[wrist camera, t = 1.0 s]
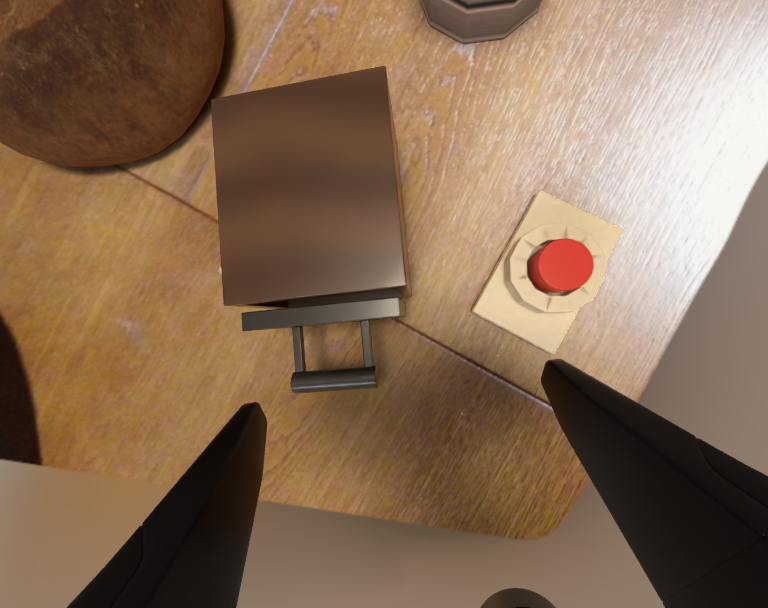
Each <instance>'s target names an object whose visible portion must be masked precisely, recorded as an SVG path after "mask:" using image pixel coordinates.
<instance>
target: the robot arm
mask: <svg viewBox="0 0 768 608" xmlns="http://www.w3.org/2000/svg"><path fill="white" fill-rule="evenodd" d="M541 383H542V386H543V388H544V391H545V393H546V395H547V397H548V400H549V402H550V404H551V406H552V408H553V411H554V413H555V415H556V417H557V419H558V422H559V424H560V426H561V428H562V430H563V432H564V434H565V435H566V437H567V439H568V441H569V443H570V444H571V446H572V448H573V449H574V451H575V453H576V455H577V456H578V458H579V460H580V461H581V463H582V465H583V467H584V468H585V470H586V472H587V473H588V475H589V477H590V479H591V480H592V482H593V484H594V486H595V487H596V489H597V491H598V492H599V494H600V496H601V498H602V499H603V501H604V503H605V504H606V506H607V508H608V510H609V511H610V513H611V515H612V517H613V518H614V520H615V522H616V523H617V525H618V527H619V529H620V530H621V532H622V533H623V535H624V537H625V539H626V541H627V542H628V544H629V546H630V547H631V549H632V551H633V552H634V554H635V556H636V558H637V559H638V561H639V563H640V565H641V566H642V568H643V570H644V572H645V573H646V575H647V577H648V578H649V580H650V582H651V583H652V585H653V587H654V589H655V591H656V592H657V594H658V596H659V597H660V599H661V600H662V601H663V605H664V606H665V608H768V476H766V475H764V474H762V473H761V472H759V471H757V470H755V469H753V468H751V467H749V466H747V465H745V464H743V463H742V462H740V461H738V460H736V459H734V458H733V457H731V456H729V455H727V454H726V453H723V452H722V451H720V450H718V449H717V448H715V447H713V446H711V445H709V444H708V443H706V442H704V441H703V440H701V439H699V438H696V437H695V436H694V435H692V434H690V433H689V432H687V431H685V430H683V429H681V428H680V427H678V426H676V425H675V424H673V423H671V422H670V421H668V420H666V419H664V418H663V417H661V416H659V415H657V414H656V413H654V412H652V411H651V410H649V409H647V408H645V407H644V406H642V405H640V404H638V403H637V402H635V401H633V400H631V399H630V398H628V397H626V396H625V395H623V394H621V393H619V392H618V391H616V390H614V389H612V388H611V387H609V386H607V385H605V384H604V383H602V382H600V381H598V380H597V379H595V378H593V377H592V376H590V375H588V374H586V373H585V372H583V371H581V370H579V369H578V368H576V367H574V366H572V365H571V364H569V363H567V362H566V361H564V360H562V359H554V360H548V361H547V362H546V363H545V366H544V370H543V373H542V377H541ZM266 432H267V420H266V417H265V415H264V413H263V411H262V409H261V407H260V405H259V403H257V402H253V403H247V404H244V405H242V406H241V407H240V408H239V410H238V411H237V412H236V413H235V414H234V416H233V417H232V418H231V419H230V420H229V421H228V423H227V424H226V425H225V426H224V427H223V429H222V430H221V431H220V432H219V433H218V434H217V436H216V437H215V438H214V439H213V440H212V442H211V443H210V444H209V445H208V446H207V447H206V449H205V450H204V451H203V452H202V453H201V455H200V456H199V457H198V458H197V459H196V460H195V462H194V463H193V464H192V465H191V466H190V468H189V469H188V470H187V471H186V472H185V473H184V475H183V476H182V477H181V478H180V479H179V480H178V482H177V483H176V484H175V485H174V486H173V488H172V489H171V490H170V491H169V492H168V493H167V495H166V496H165V497H164V498H163V499H162V501H161V502H160V503H159V504H158V506H156V508H155V509H154V510H153V511H152V513H151V514H150V515H149V516H148V517H147V518H146V520H145V521H144V522H143V524H142V526H140V527H139V528H138V529H137V530H136V531H135V532H134V534H133V535H132V536H131V537H130V538H129V539H128V541H127V542H126V543H125V544H124V545H123V546H122V548H121V549H120V550H119V551H118V552H117V553H116V554H115V555H114V557H113V558H112V559H111V560H110V561H109V562H108V564H107V565H106V566H105V567H104V568H103V569H102V570H101V571H100V572H99V574H97V576H96V577H95V578H94V579H93V580H92V581H91V582H90V583H89V584H88V585H87V586H86V588H85V589H84V590H83V591H82V592H81V593H80V594H79V595H78V596H77V597H76V598H75V599H74V600H73V601H72V602H71V603H70V604H69V606H68V607H67V608H236V606H237V601H238V596H239V591H240V586H241V581H242V576H243V571H244V566H245V561H246V556H247V551H248V546H249V541H250V536H251V531H252V526H253V521H254V516H255V512H256V507H257V502H258V497H259V492H260V487H261V481H262V475H263V466H264V455H265V443H266Z"/></svg>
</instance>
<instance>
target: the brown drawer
mask: <svg viewBox="0 0 768 608" xmlns="http://www.w3.org/2000/svg"><path fill="white" fill-rule="evenodd" d="M398 317H406V307H405V302H404V301H402V300H401V299H400V298H399V297H393V298H383V299H373V300H364V301H354V302H344V303H334V304H324V305H314V306H305V307H295V308H285V309H275V310H265V311H256V312H246V313H242V329H243V331H252V330H265V329H278V328H291V327H292V332H293V345H294V358H295V371H296V372H294V373H293V374H292V377H291V388H292V391H293V392H294V393H309V392H324V391H339V390H354V389H369V388H378V386H379V373H378V368H377V366H373V365H374V360H373V349H372V338H371V327H370V320H376V319H387V318H398ZM355 321H360V323H361V334H362V345H363V357H364V366H365V367H354V368H340V369H327V370H314V371H306V364H305V351H304V338H303V327H302V326H312V325H323V324H334V323H344V322H355Z"/></svg>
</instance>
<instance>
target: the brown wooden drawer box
mask: <svg viewBox="0 0 768 608" xmlns="http://www.w3.org/2000/svg"><path fill="white" fill-rule="evenodd" d="M211 110H212V126H213V142H214V157H215V173H216V189H217V205H218V221H219V236H220V252H221V268H222V284H223V300H224V305H225V306H239V307H256V308H272V309H285V308H295V307H305V306H314V305H324V304H334V303H344V302H354V301H364V300H373V299H383V298H393V297H399V298H401V297H411V296H412V291H411V281H410V271H409V261H408V251H407V240H406V230H405V220H404V210H403V200H402V190H401V179H400V169H399V159H398V149H397V141H396V134H395V127H394V120H393V113H392V107H391V100H390V93H389V86H388V79H387V72H386V67H385V66H381V67H376V68H371V69H366V70H360V71H355V72H350V73H345V74H340V75H335V76H329V77H324V78H319V79H314V80H309V81H304V82H299V83H293V84H288V85H283V86H278V87H273V88H268V89H262V90H257V91H252V92H247V93H242V94H237V95H231V96H226V97H221V98H216V99H212V100H211Z"/></svg>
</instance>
